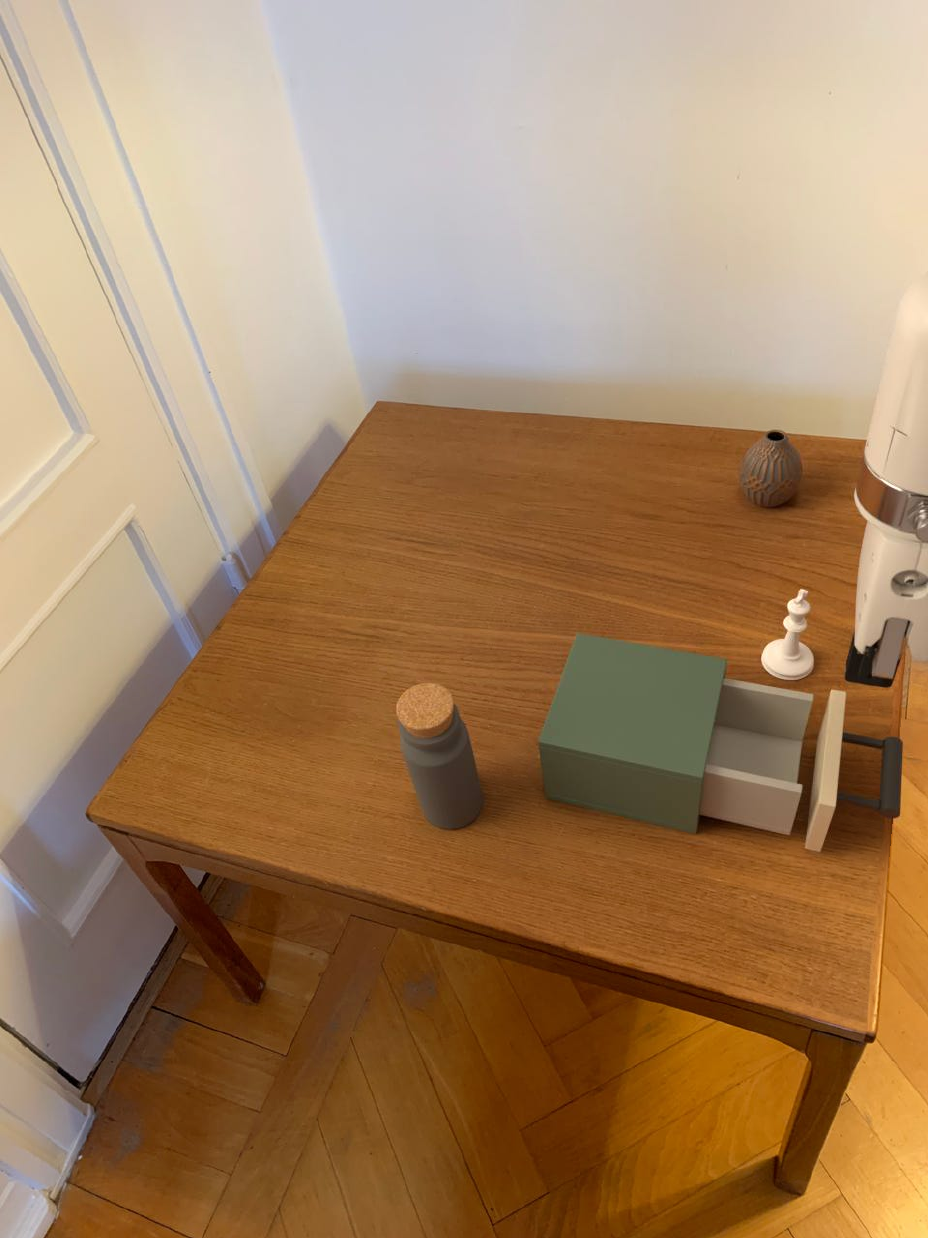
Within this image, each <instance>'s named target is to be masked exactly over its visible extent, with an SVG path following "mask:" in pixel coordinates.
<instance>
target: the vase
mask: <svg viewBox="0 0 928 1238" xmlns="http://www.w3.org/2000/svg"><path fill="white" fill-rule="evenodd" d="M802 477H803V462H802V458H801V455H800V452H799V451H798V448H796V446H795V445H794V444H793V443H792V442H791V441H790V439H789V437H788V434H787V433H786V432H785V431H783V430H781V429H770V430H768V431H766V432H765V433H764V435H763V436H762V437H761V438H760V439H759V440H757V441H756V442H755V443H753V444H752V445H751V446H750V447H749V448H748V449H747V450H746V452H745V453H744V455H743V457H742V460H741V462H740V464H739V470H738V481H739V487H740V489H741V492H742V494H743V496H744V497H745V498H746V499H747V500H748V501H749V502H751V503H752V504H754V505H755V506H758V507H762V508H773V507H777V506H780V505H782V504H784V503H787V501H789V500H790V499H792V497H793V496H794V495H795V494H796V493H797V490H798V489H799V486H800V484H801V481H802Z"/></svg>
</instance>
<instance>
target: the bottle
mask: <svg viewBox="0 0 928 1238" xmlns="http://www.w3.org/2000/svg"><path fill="white" fill-rule="evenodd" d="M395 710H396V717H397V718H398V730H399V733H400V740H399V742H400V749H401V753H402V757H403V759H404V762H405V765H406V768H407V771H408V775H409V777H410V780H411V783H412V786H413V789H414V792H415V795H416V798H417V801H418V803H419V807H420V809H421V811H422V814H423V816H424V817H425V819H426V820H427V821H428V823H430V824H431V825H432V826H434V827H436V828H439V829H441V830H450V831H451V830H458V829H461V828H463V827H465V826H467V825H469V824H470V823H472V822H473V821H474V820H475V819H476V818H477V817H478V815H479V814H480V812H481V810H482V807H483V804H484V803H483V802H484V797H483V790H482V785H481V781H480V777H479V776H480V775H479V772H478V768H477V762H476V759H475V755H474V751H473V747H472V742H471V739H470V734H469V731H468V730H469V729H468V727H467V725H466V723H465V722H464V721H463V719H462V718H461V715H460V711H459V708H458V706H457V705H456V704H455V700H454V696H453V695H452V693H451V691H450V690H449V689H448V688H447V687H445V686H443V685H442V684H440V683H435V682H422V683H418V684H416V685H412V686H411V687H409V688H407V690H405V691H403V693H402V694H401V696H400V697H399V699H398V700H397V703H396V707H395Z"/></svg>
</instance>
